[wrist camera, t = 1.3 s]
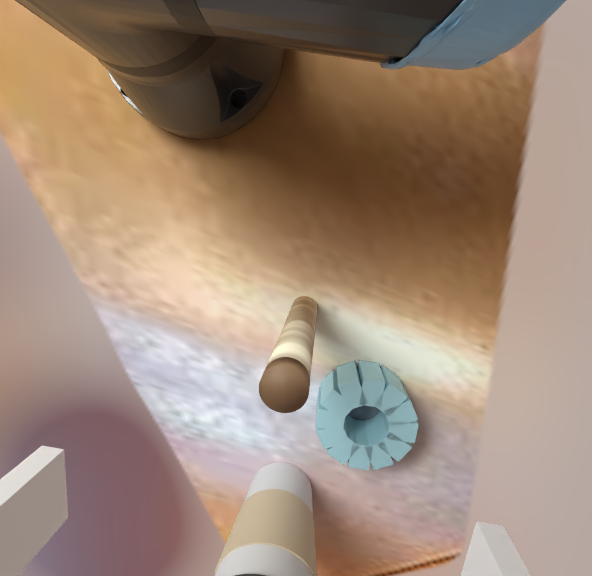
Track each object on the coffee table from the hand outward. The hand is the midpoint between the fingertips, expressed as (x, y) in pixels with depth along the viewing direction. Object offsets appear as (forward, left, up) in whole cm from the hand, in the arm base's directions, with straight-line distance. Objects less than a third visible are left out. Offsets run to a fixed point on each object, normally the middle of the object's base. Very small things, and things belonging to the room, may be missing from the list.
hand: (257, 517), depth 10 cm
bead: (+8, +7, -22) cm, 25 cm away
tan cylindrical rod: (-1, 0, -22) cm, 23 cm away
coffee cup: (+20, 0, -23) cm, 30 cm away
